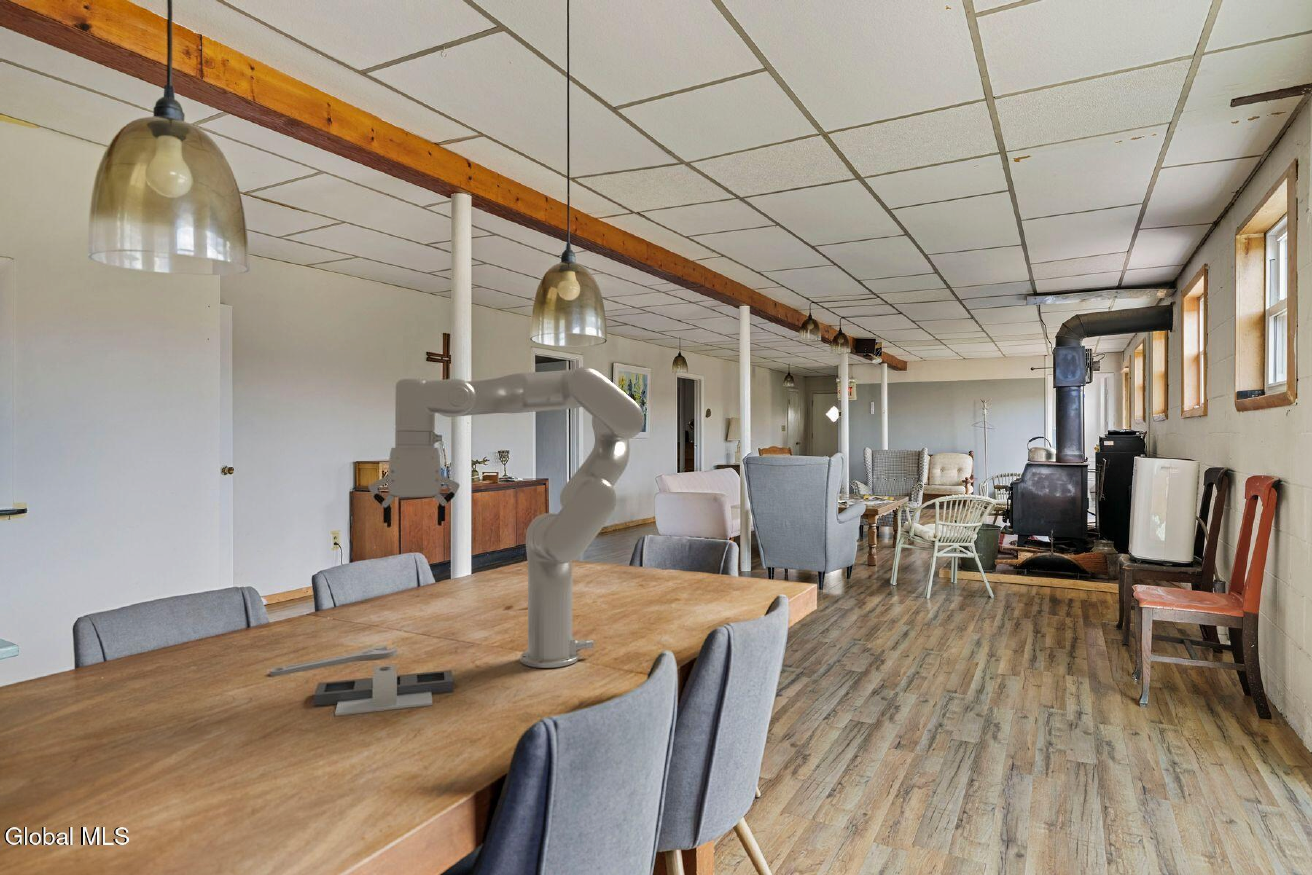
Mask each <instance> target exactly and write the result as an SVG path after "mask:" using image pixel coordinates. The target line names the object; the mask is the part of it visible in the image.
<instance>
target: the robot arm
mask: <svg viewBox="0 0 1312 875" xmlns="http://www.w3.org/2000/svg"><path fill="white" fill-rule="evenodd" d="M394 397H395V399H394V400H395V401H394V402H395V403H394V404H395V419H394V420H395V421H394V422H395V424H394V425H395V428H394V430H395V431H394V433H395V436H394V437H395V438H394V444H395V445H394V447H391V448H390V451H389V452H390V453H389V460H388V468H387V469H388V470H387V472H388V473H387V475H386V476H383V477H381V478H380V479H378V480H376V481H374V482H372V483H370V484H368V490H369V491H370V493H371V495H372V497H373V499H374V500H375V501H376V502H378V503H379V505H381V506H382V507H383V513H382V514H383V517H382V518H383V520H382V521H383V522H382V523H383V524H386V528H391V527H392V506H391V503H392V502H393V501H394V500H395V499H396V498H430V497H434V499H436V501H437V502H438V505H437V520H436V521H437V526H439V527H441V526H442V525H443V522H446V506H447V505H448V504H449V502H450V501H452V500H453V499H454V498H455V496H456V494H457V492H458V490H459V488H460V483H458V482H457V481H454V480H452V479H451V478H448V477H446V476H445V475H442V468H441V467H442V466H441V457H440V456H441V455H440V450H439V447H435V445H436V444H437V443H439V442H440V443H442V442H443V435H442V434H437V433H436V432H435V423H436V422H435V421H436V418H435V417H436V414H438V415H441V416H443V417H446V418H456V417H466V416H468V417H469V416H476V415H491V414H523V413H525V414H526V413H534V412H535V413H536V412H545V411H559V410H569V409H578V408H582V409H584V410H585V411H586V412H587V413H588V414H589V415H591V416H592V418H591V427H592V430H593V431H592V432H593V434H594V444H593V448H592V450H591V452H590V453H589V454H588V456H587V457H586V459H585V461H584V462H583V463H582V464H581V466H580V467H579V468H578V469H577V470H576V472H575V473H574V474H573V475H572V477H571V478H570V479H569V480H568V481H567V482H566V483H565V485H564V486H563V488H562V490H561V492H560V496H559V502H560V506H561V507H562V508H561V509H560V511H558V513H552V512H550V513H549V512H546V513H543V514H540V515H537V516H536V517H535V518H534V519H532V521H530V523H529V525H528V527H527V528H526V533H525V549H526V551H525V552H526V558H527V559H526V560H527V574H528V575H527V650H525V651H523V652H522V653H520V657H519V658H520V659H519V660H520V662H521V664H523V665H525V666H528V667H531V668H537V669H538V668H539V669H540V668H541V669H551V668H553V669H555V668H562V667H566V666H570V665H573V664H575V663H576V662H578V661H579V659H580V651H581V650H592V649H593V650H594V647H595V643H594V640H593V639H586V638H579V639H576V638H575V637H574V636H573V568H572V562H573V561H575V560H577V559H578V558H579V557H580V556H581V555H582V554H583V553H584V552H585V550H586V549H588V547H589V546H590V545H591V543H592V542H593V541H594V540H595V538H596V537H597V536H598V534H599V533H600V532H601V530H602V529H603V528H604V526H605V525H606V524H607V522H608V521H609V520H610V519H611V517H612V515H613V513H614V511H615V508H616V504H617V493H616V491H615V488H614V486H615V485H616V484H617V482H618V480H619V479H620V478H621V476H622V475H623V473H624V471H626V468H627V466H628V463H629V459H630V439H632V438H635V437H637V436H638V435H639V434H640V433H641V432H642V430H643V428H644V426H645V425H644V424H645V415H644V412H643V410H642V408H641V407H640V405H639V404H638V403H637V402H636V401H635V400H634V399H633V398H631V396H629V395H628V394H626V393H625V392H624V391H623V390H622V389H620V388H619V387H618V386H617V385H616V384H614V383H613V382H612V381H611V380H610V379H608V378H607V377H606V376H605V375H603V374H602V373H601V372H599V371H598V370H596V369H594V368H593V367H587V366H579V367H577V368H574V369H573V368H572V369H564V370H552V371H549V370H548V371H537V372H535V371H534V372H533V371H531V372H518V373H512V374H507V375H504V376H501V377H495V378H489V379H483V380H482V379H481V380H470V381H469V380H468V381H467V380H465V379H461V378H448V379H434V380H431V379H430V380H429V379H425V378H402V379H400V380H397V382H396V384H395V396H394ZM442 483H443V484H444V485H447V486H449V487H450V490H449V492H448V493H447V494H445V496H443V495H442V494H441V491H442ZM385 484H387V490H388V491H387V492H388V495H387V496H386V498H384V497H383V496H382V495H381V493H380V492H379V490H378V488H380V487H382V486H384V485H385Z"/></svg>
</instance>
